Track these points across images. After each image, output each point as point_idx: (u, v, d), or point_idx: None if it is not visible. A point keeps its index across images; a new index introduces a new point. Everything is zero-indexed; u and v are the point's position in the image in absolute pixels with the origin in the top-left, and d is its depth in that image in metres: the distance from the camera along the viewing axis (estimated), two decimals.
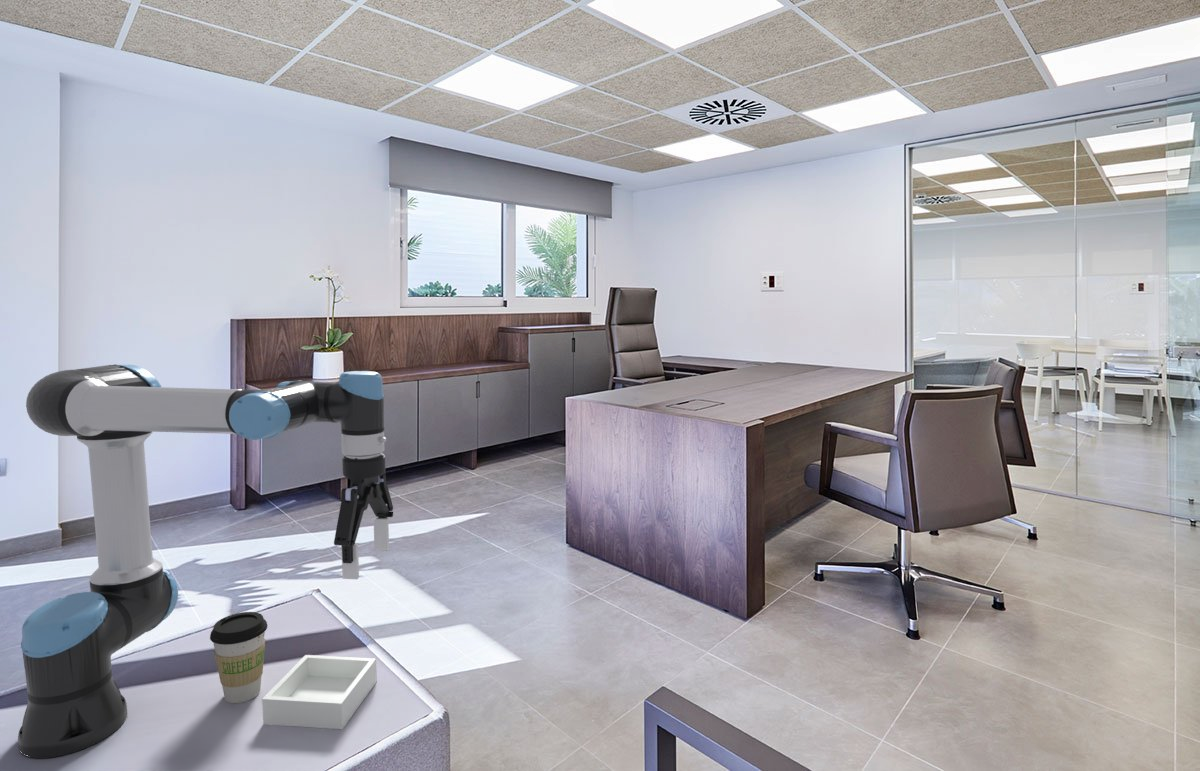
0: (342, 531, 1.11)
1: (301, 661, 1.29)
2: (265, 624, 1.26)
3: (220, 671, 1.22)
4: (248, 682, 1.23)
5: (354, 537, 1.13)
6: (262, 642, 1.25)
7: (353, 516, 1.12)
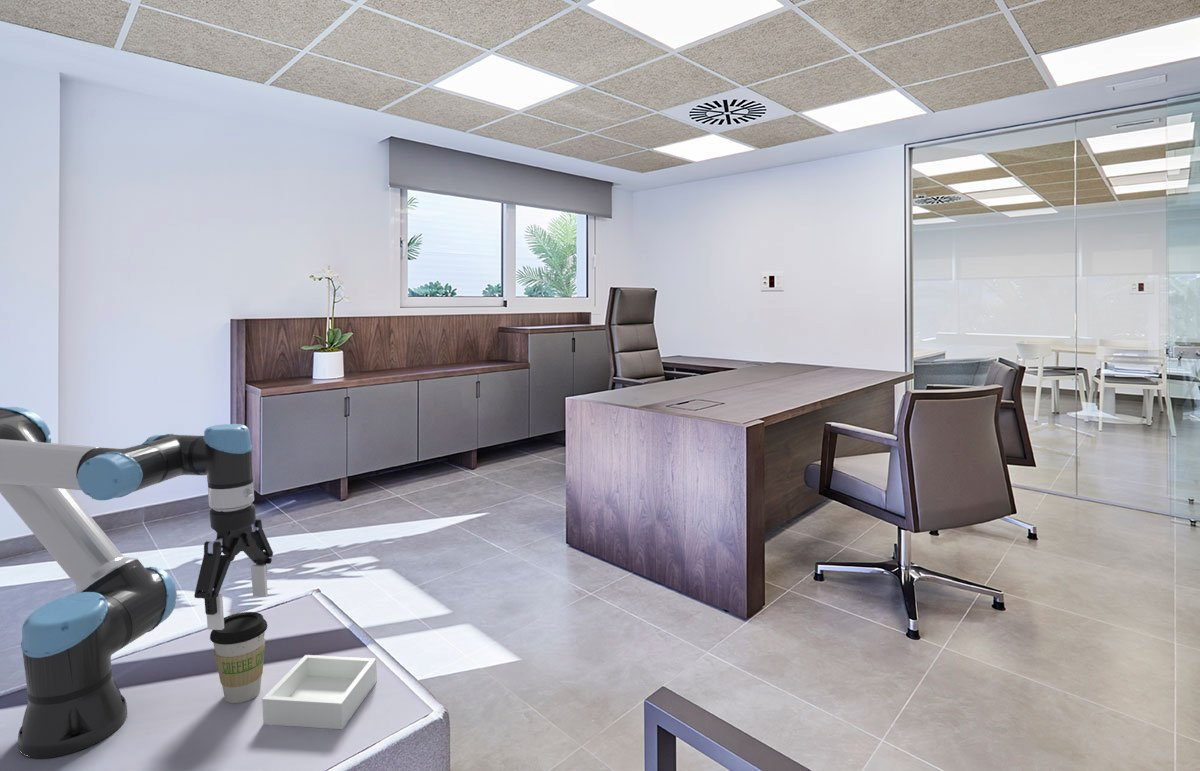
0: (203, 584, 1.14)
1: (301, 661, 1.29)
2: (265, 624, 1.26)
3: (220, 671, 1.22)
4: (248, 682, 1.23)
5: (217, 589, 1.16)
6: (262, 642, 1.25)
7: (215, 569, 1.15)
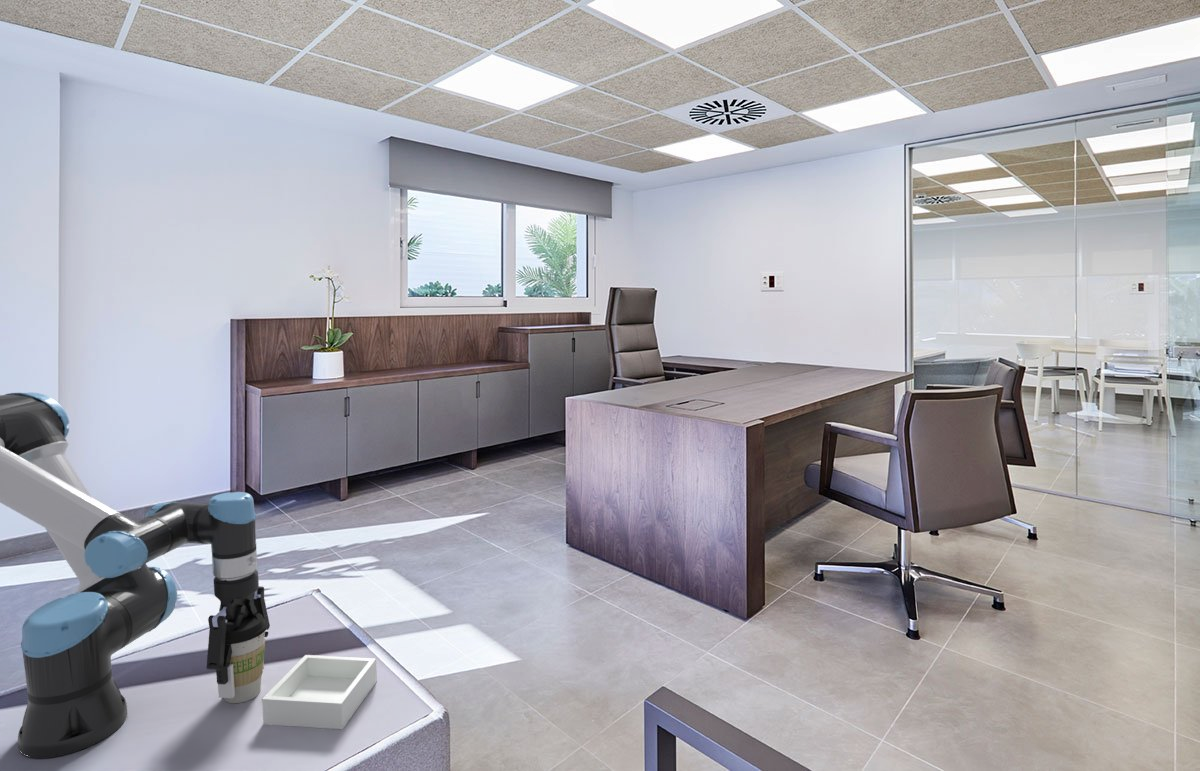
0: (213, 657, 1.17)
1: (301, 661, 1.29)
2: (265, 624, 1.26)
3: None
4: (248, 682, 1.23)
5: (227, 660, 1.19)
6: (262, 642, 1.25)
7: (223, 641, 1.18)
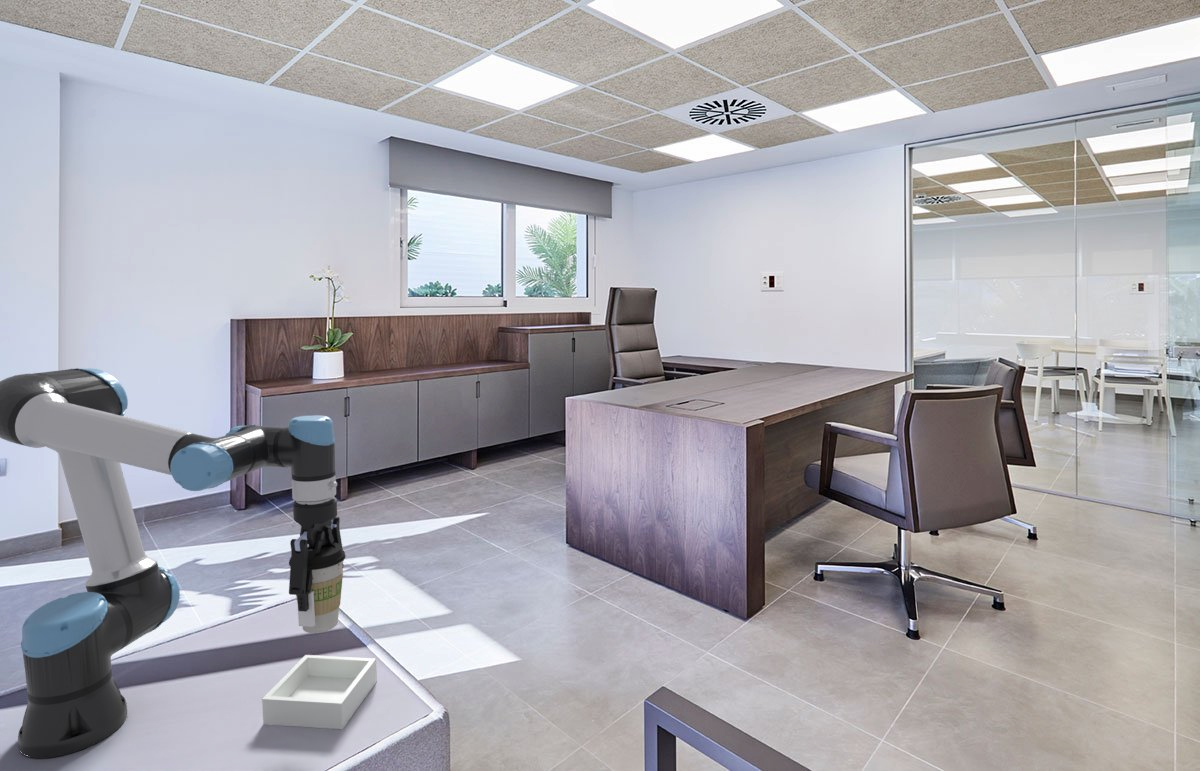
0: (295, 582, 1.13)
1: (301, 661, 1.29)
2: (343, 553, 1.22)
3: None
4: (327, 611, 1.19)
5: (309, 586, 1.15)
6: (341, 571, 1.21)
7: (305, 566, 1.14)
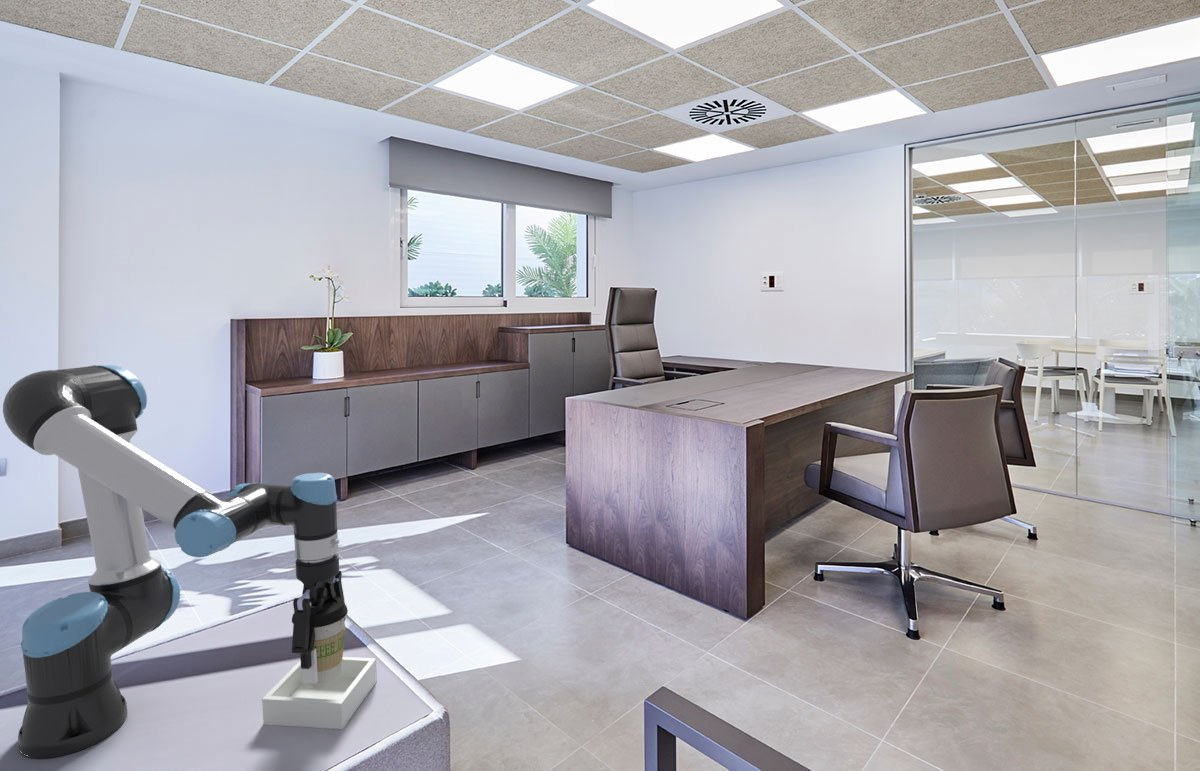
0: (298, 641, 1.14)
1: None
2: (346, 608, 1.23)
3: None
4: (330, 667, 1.20)
5: (311, 644, 1.17)
6: (343, 626, 1.23)
7: (308, 624, 1.15)
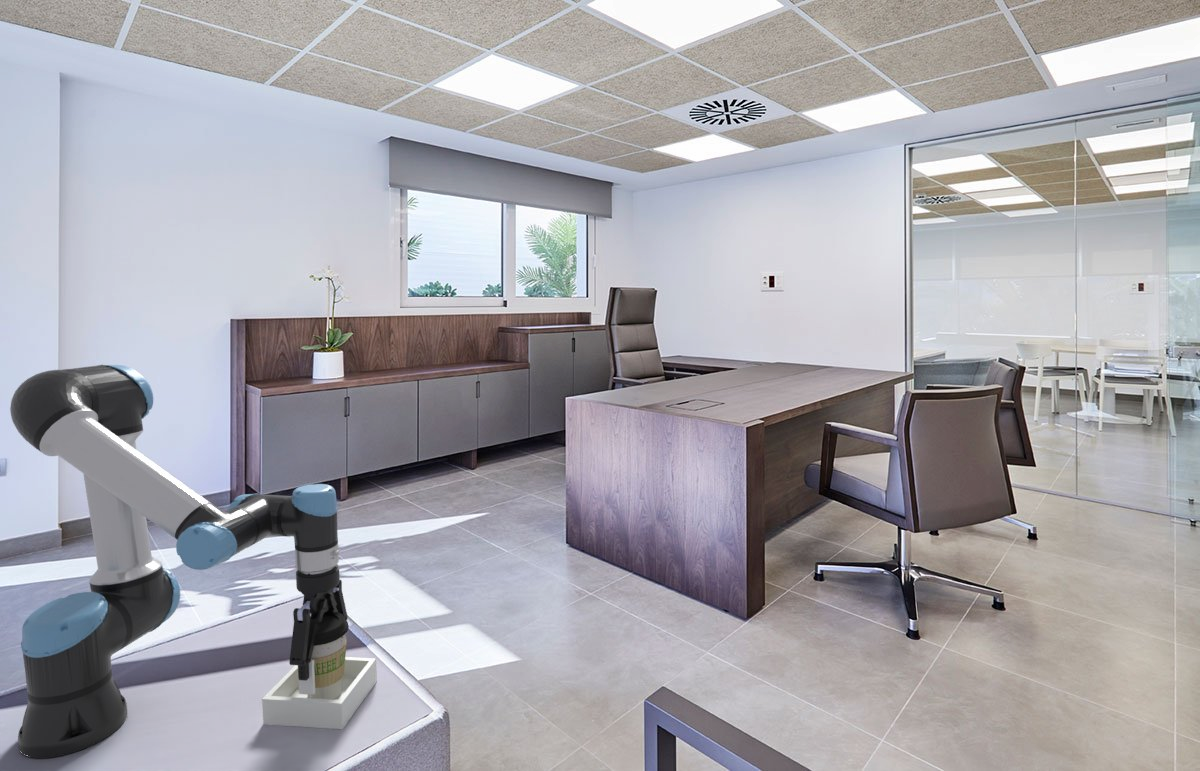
0: (296, 652, 1.14)
1: None
2: (347, 624, 1.24)
3: None
4: (332, 682, 1.22)
5: (309, 655, 1.16)
6: (344, 642, 1.23)
7: (307, 635, 1.15)
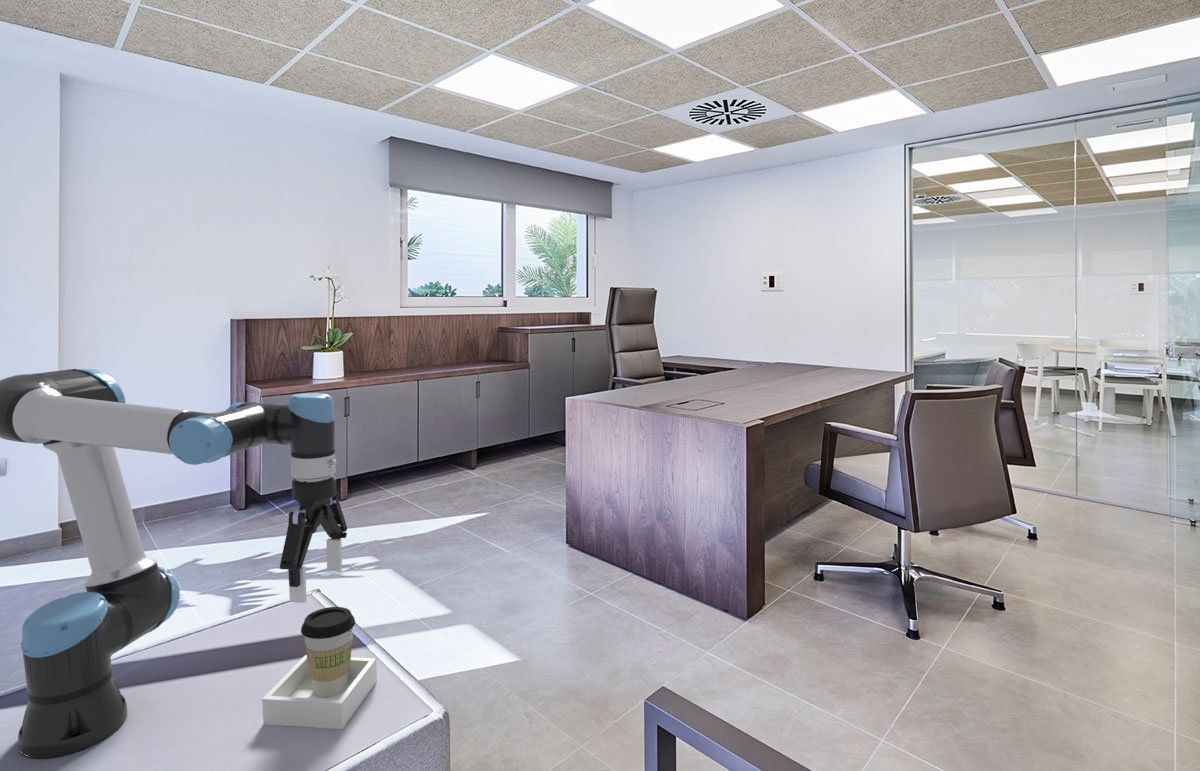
0: (288, 555, 1.11)
1: (301, 661, 1.29)
2: (353, 618, 1.27)
3: (312, 666, 1.22)
4: (339, 676, 1.24)
5: (301, 561, 1.13)
6: (351, 636, 1.26)
7: (300, 540, 1.12)
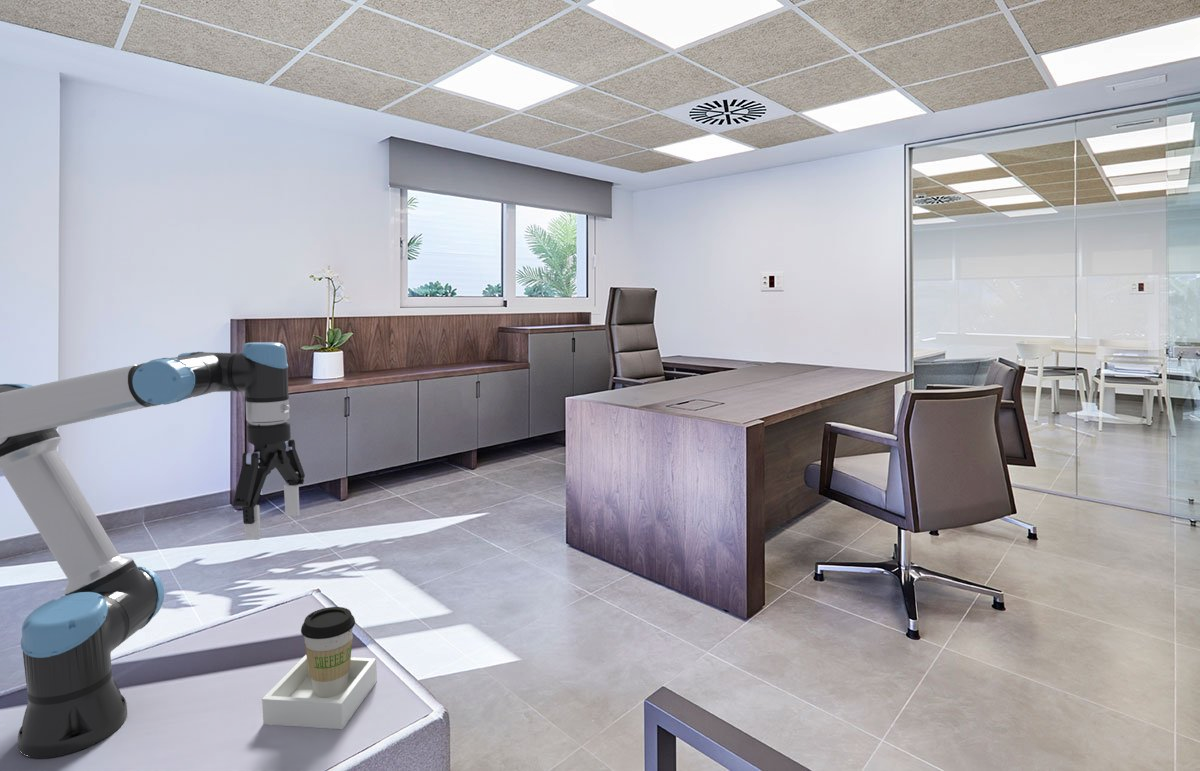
0: (241, 493, 1.16)
1: (301, 661, 1.29)
2: (353, 618, 1.27)
3: (312, 666, 1.22)
4: (338, 676, 1.24)
5: (255, 499, 1.18)
6: (351, 636, 1.26)
7: (253, 479, 1.18)
